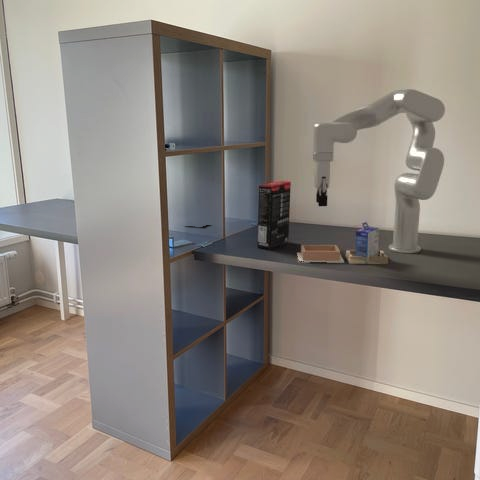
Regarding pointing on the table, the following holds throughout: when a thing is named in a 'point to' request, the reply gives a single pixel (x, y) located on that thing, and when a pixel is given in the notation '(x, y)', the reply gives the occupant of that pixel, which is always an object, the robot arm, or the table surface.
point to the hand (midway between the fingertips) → (321, 204)
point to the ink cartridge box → (367, 242)
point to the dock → (320, 254)
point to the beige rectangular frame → (353, 259)
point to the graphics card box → (273, 214)
